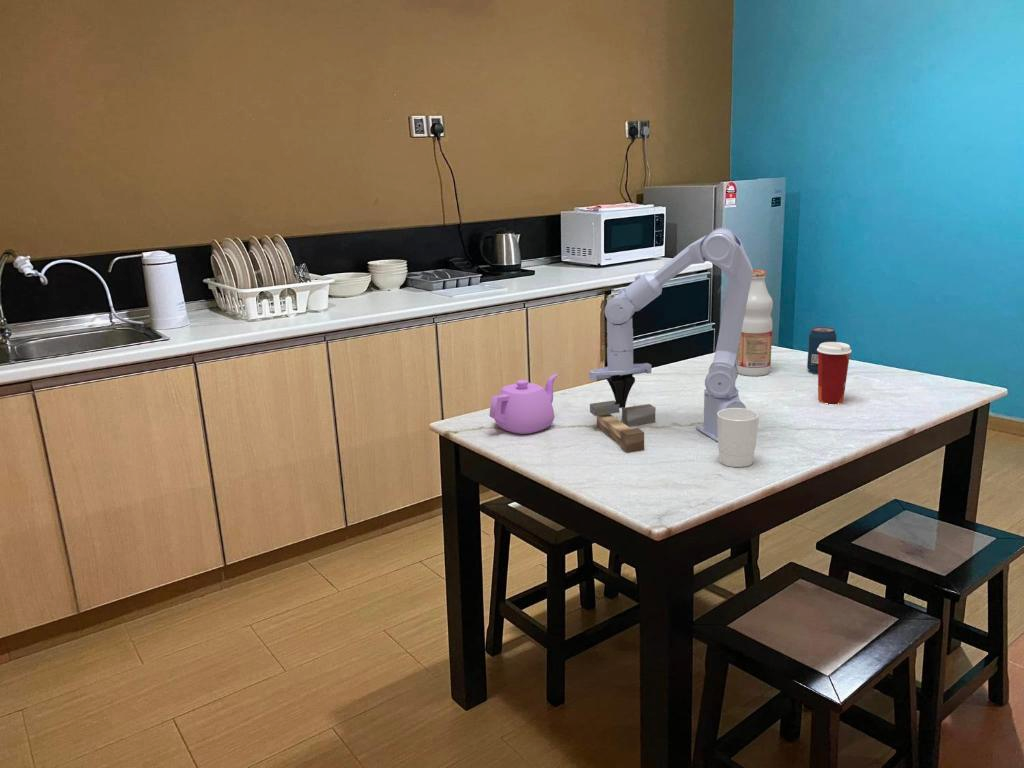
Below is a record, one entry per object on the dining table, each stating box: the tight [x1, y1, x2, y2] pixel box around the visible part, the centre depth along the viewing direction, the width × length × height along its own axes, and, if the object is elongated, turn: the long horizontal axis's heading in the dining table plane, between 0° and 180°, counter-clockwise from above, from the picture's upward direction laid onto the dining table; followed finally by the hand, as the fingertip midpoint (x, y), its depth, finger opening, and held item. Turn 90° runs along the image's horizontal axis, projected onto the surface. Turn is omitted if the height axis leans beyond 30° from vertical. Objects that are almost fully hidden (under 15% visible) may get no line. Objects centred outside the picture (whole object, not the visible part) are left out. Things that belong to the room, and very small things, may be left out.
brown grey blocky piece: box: [596, 403, 656, 454], centre depth 175 cm, size 18×14×4 cm
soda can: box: [806, 326, 837, 375], centre depth 213 cm, size 7×7×12 cm
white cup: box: [717, 408, 760, 468], centre depth 157 cm, size 8×8×10 cm
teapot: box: [488, 373, 559, 435], centre depth 183 cm, size 13×20×11 cm, turn 128°
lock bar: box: [589, 399, 620, 417], centre depth 179 cm, size 3×6×2 cm, turn 107°
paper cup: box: [817, 341, 853, 405], centre depth 189 cm, size 8×8×14 cm
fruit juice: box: [736, 269, 774, 377], centre depth 214 cm, size 9×9×28 cm
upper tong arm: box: [596, 414, 632, 439], centre depth 174 cm, size 14×3×2 cm, turn 17°
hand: (620, 406), depth 180 cm, fingers closed
